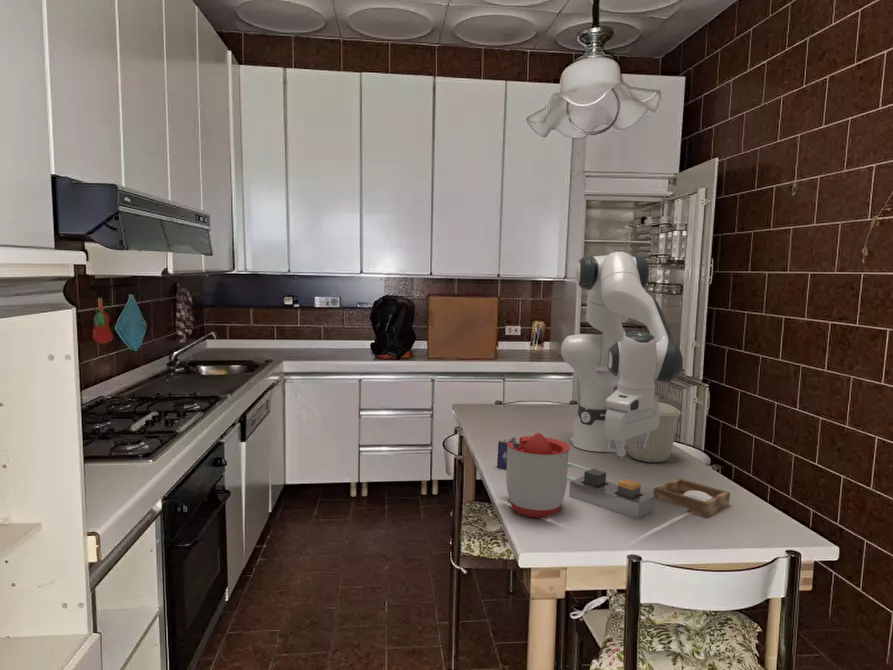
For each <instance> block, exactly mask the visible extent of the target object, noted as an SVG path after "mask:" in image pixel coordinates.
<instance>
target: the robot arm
mask: <svg viewBox="0 0 893 670" xmlns="http://www.w3.org/2000/svg"><path fill="white" fill-rule="evenodd" d="M650 276H651V268H650V265H649V262H648V260H647V259H646V257H644V256H643V257H642V256H640V255H634V256H632V255H630V253H628V252H624V251H613V252H611V253H609V254H607V255H597V256H596V255H595V256H593V255H587V256H583V257H581V258H580V259H579V260H578V264H577V266H576V268H575V279H576V282H577V284H578V286H579V287H580V288H581V289H583V290H587V291H588V293H587V303H586V304H587V305H586V314H585V318H586V321H587V323H588V324H589V325H590V326H591V327H593V328H594V329H596V330H598V331H600V332H601V333H602V334H594V333H593V334H592V333H590V334H589V333H588V334H587V333H577V334H573V335H567V336H566V337H565V338H564V339H563V341H562V343H561V347H560V354H561V357H562V359H563V360H564V362H565V363H566V364H567V365H568V366H570V367H571V368H572V369H573V371H574V373H575V374H576V377H577V378H578V382H579V404H578V407H577V415H578V417H576V418H575V420H574V427H573V434H572V436H571V437H570V440H569V441H570V442H572V446H573V447H575V448H577V449H581V450H584V451H589V452H600V453H601V452H602V453H604V452H606V453H616V455H617V456H618V457H626V455H627V447H626V439H628V438H631V437H634V436H637V435H640V438H639V441H637V448H638V449H645V448H646V442H647V440H648V437H649V435H650V431H653V430H656V429H657V428H658V426H659V404H658V403H657V402H658V401H657V398H658V397H657V396H656V395H655V393H656V392H655V391H656V385H655V384H656V383H655V381H658V382H663V383H664V382H666V383H669V382H671V381H673V380H675V379H676V378H677V377H679V375H680V374H681V373H682V371H683V369H684V368H683V366H684V361H683V360H684V359H683V354H682V352H681V349H680V348H679V346H678V344H677V343H676V341H675V340H674V337H673V335H672V332H671V331H670V328H669V324H668V323H667V320H666V318H665V316H664V313H663V311H662V309H661V306H660V304H659V302H658V301H657V299H656V298H654V297H653V296H651V295H650V293H648V292H647V291H646V290H645V287H646V286H647V285H648V283H649V280H650ZM622 316H623V317H625V318H629V319H631V320H635V321H637V322H639V323H641V324H643V325H644V326H646V328H647V329H648V331H649V332H645V331H639V330H638V331H637V330H636V331H635V330H634V331H628V332H626V331H625V329H624V328H623V324H622ZM599 367H600V368H607V370H608V371H609V372H610V373H611V374H612V375H613V376H614V377H618V378H619V380H618V382H617V389H616V390H614V385H613V383H612V382H611V380H609V379H607V378H606V377H604V376H602V375H600V374H599V373H598V372H597V368H599ZM656 397H657V398H656Z"/></svg>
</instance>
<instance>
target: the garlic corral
mask: <svg viewBox="0 0 893 670" xmlns="http://www.w3.org/2000/svg"><path fill="white" fill-rule="evenodd" d="M691 490H695V491H701V492H704V493H706V494H708V495H709V496H711V497H713V498H711V499H709V500H707V501H705V502H704V501H701V500H697V499H694V498H691V497H687V496H684V495H683V494H684V493H685V492H687V491H691ZM681 493H682V494H681ZM730 495H731V492H730V491H727V490H723V489H719V488H715V487H711V486H708V485H704V484H700V483H697V482H694V481H691V480H686V479H684V478H680V477H676V478H674V479H672V480H670V481H668V482H665V483H663V484H661V485H658V486H655V487H653V496H655V499H657V500H661V501H664V502H667V503H670V504H673V505H675V506H679V507H682V508H686V509H687V510H686V512H687V513H690V514H693V515H697V516H699V517H702V518H705V519H706V518H709V517H710V516H712V515H714V514H716V513H717V512H719V511H721V510H723V509H725V508H726V507H728V506H729V505H730Z"/></svg>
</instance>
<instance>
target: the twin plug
mask: <svg viewBox="0 0 893 670" xmlns="http://www.w3.org/2000/svg"><path fill="white" fill-rule="evenodd" d="M590 469H591V470H588V471H583V472H584V475H583V476H584V484H586V485H589V486H592V487H595V488H600V487H602V486H605V484H606V481H607V480H606V479H607V471H602V470H599V469H596V468H590Z"/></svg>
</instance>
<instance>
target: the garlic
mask: <svg viewBox="0 0 893 670" xmlns="http://www.w3.org/2000/svg"><path fill="white" fill-rule="evenodd" d="M682 495H684V496H687V497H691V498H694V499H697V500H701V501H704V502H705V501H707V500H709V499H711V498H713V497H711V496H709V495H708V494H706V493H704V492H701V491H695V490H691V491H687V492H685V493H682Z"/></svg>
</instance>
